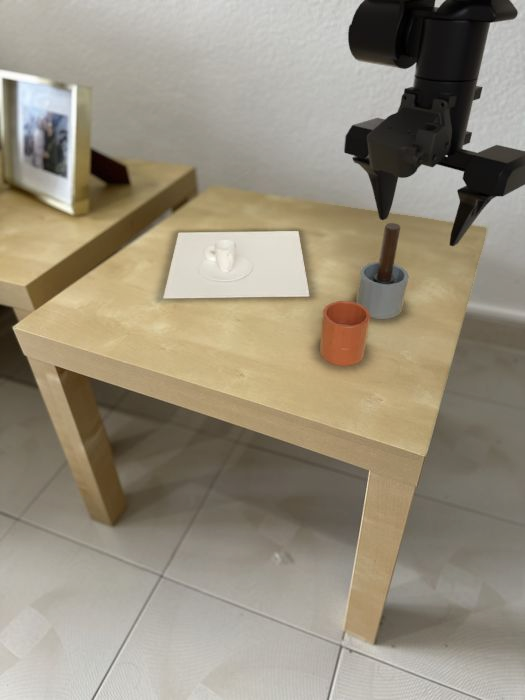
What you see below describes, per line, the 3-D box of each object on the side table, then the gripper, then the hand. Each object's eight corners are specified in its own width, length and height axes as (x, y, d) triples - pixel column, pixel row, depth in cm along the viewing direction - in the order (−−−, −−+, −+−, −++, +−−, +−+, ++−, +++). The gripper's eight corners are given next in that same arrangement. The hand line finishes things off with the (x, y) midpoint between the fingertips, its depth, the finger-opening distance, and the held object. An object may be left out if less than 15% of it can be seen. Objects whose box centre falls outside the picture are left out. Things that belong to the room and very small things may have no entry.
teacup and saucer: (201, 254, 79) (198, 230, 77) (252, 253, 79) (252, 229, 77) (196, 284, 72) (194, 258, 70) (252, 283, 72) (252, 257, 70)
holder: (373, 352, 60) (379, 314, 57) (344, 372, 58) (349, 333, 54) (339, 333, 63) (343, 295, 60) (310, 351, 61) (313, 312, 57)
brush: (393, 303, 68) (408, 226, 61) (381, 311, 66) (395, 232, 59) (377, 295, 69) (390, 219, 62) (365, 302, 68) (377, 225, 61)
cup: (410, 306, 68) (417, 274, 65) (383, 324, 65) (389, 291, 62) (374, 289, 71) (379, 257, 68) (346, 305, 68) (350, 272, 65)
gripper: (313, 74, 49) (306, 227, 59) (496, 108, 38) (451, 288, 48) (384, 60, 55) (368, 200, 64) (561, 85, 44) (509, 250, 53)
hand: (416, 231), depth 57 cm, fingers open, 9 cm apart
